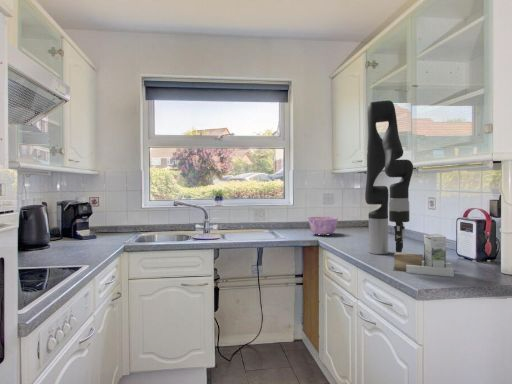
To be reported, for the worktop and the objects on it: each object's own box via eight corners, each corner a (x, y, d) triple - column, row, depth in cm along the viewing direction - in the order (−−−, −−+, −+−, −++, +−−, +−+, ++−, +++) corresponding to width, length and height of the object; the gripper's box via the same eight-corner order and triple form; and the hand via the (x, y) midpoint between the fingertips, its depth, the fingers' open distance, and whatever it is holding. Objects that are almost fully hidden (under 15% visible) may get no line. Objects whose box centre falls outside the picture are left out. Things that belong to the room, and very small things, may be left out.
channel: (394, 266, 151) (394, 259, 151) (451, 270, 142) (451, 262, 142) (392, 272, 141) (392, 264, 141) (453, 277, 132) (453, 269, 132)
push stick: (394, 267, 147) (394, 253, 147) (421, 269, 143) (421, 254, 143) (394, 269, 144) (394, 254, 144) (422, 271, 140) (421, 256, 140)
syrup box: (438, 270, 142) (437, 233, 142) (446, 274, 137) (446, 235, 136) (423, 270, 142) (423, 234, 142) (431, 274, 136) (431, 236, 136)
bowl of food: (306, 236, 239) (305, 219, 239) (310, 232, 258) (310, 216, 258) (336, 237, 233) (336, 219, 233) (339, 233, 252) (339, 216, 252)
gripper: (390, 208, 152) (390, 247, 152) (387, 210, 139) (388, 252, 139) (409, 208, 149) (410, 248, 149) (408, 210, 136) (409, 253, 136)
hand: (399, 250), depth 144 cm, fingers open, 8 cm apart
